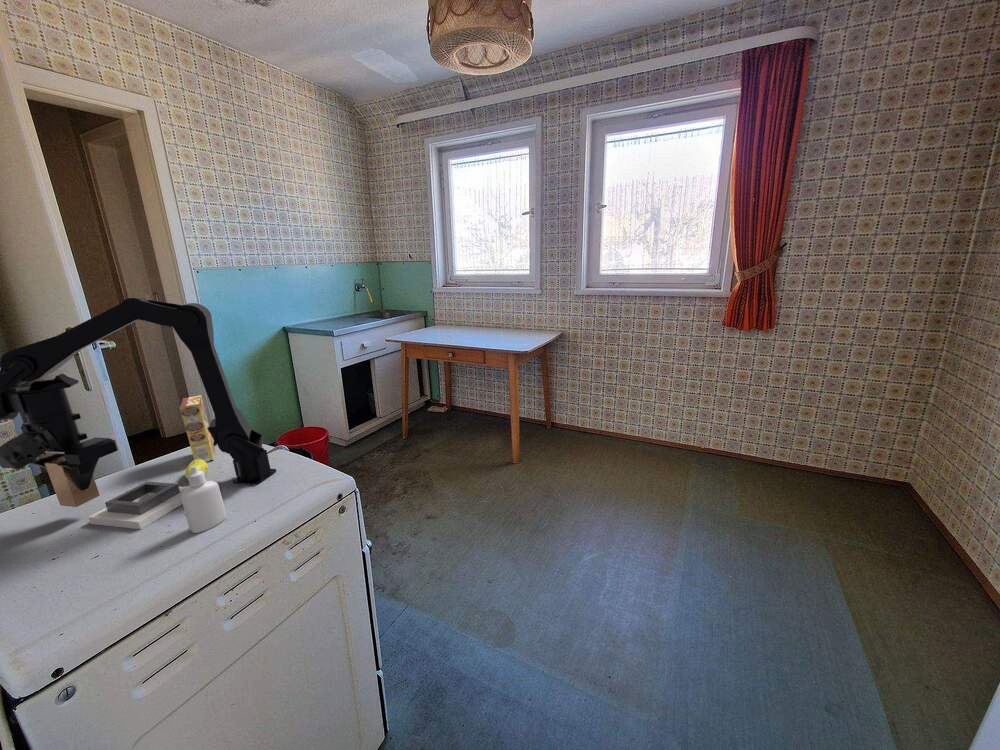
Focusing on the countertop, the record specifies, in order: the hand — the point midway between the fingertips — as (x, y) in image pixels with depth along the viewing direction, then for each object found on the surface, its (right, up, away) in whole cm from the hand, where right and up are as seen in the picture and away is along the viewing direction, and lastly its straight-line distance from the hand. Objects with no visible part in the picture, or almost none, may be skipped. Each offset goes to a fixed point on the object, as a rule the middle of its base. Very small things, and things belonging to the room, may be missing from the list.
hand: (76, 488), depth 79 cm
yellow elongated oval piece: (+12, -2, +16) cm, 20 cm away
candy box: (+6, +1, +26) cm, 27 cm away
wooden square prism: (0, -2, +1) cm, 3 cm away
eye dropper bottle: (+28, -6, -3) cm, 29 cm away
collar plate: (+11, -5, +3) cm, 12 cm away
